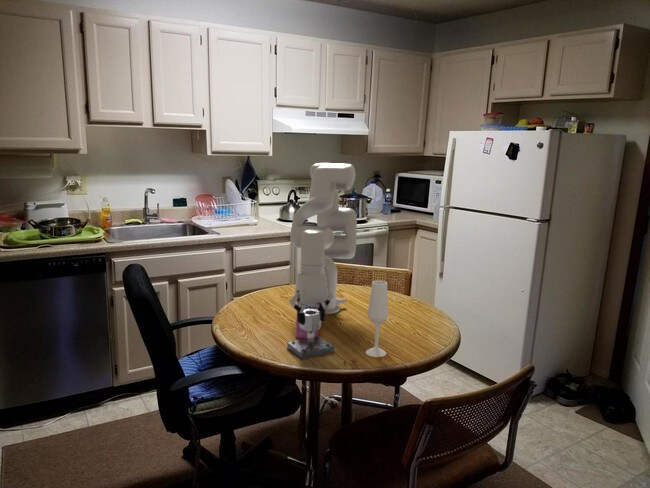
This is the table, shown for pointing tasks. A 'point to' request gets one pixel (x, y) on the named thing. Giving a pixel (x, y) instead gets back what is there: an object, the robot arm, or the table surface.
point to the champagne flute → (378, 313)
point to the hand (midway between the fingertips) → (311, 321)
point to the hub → (312, 320)
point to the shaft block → (310, 346)
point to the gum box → (299, 332)
